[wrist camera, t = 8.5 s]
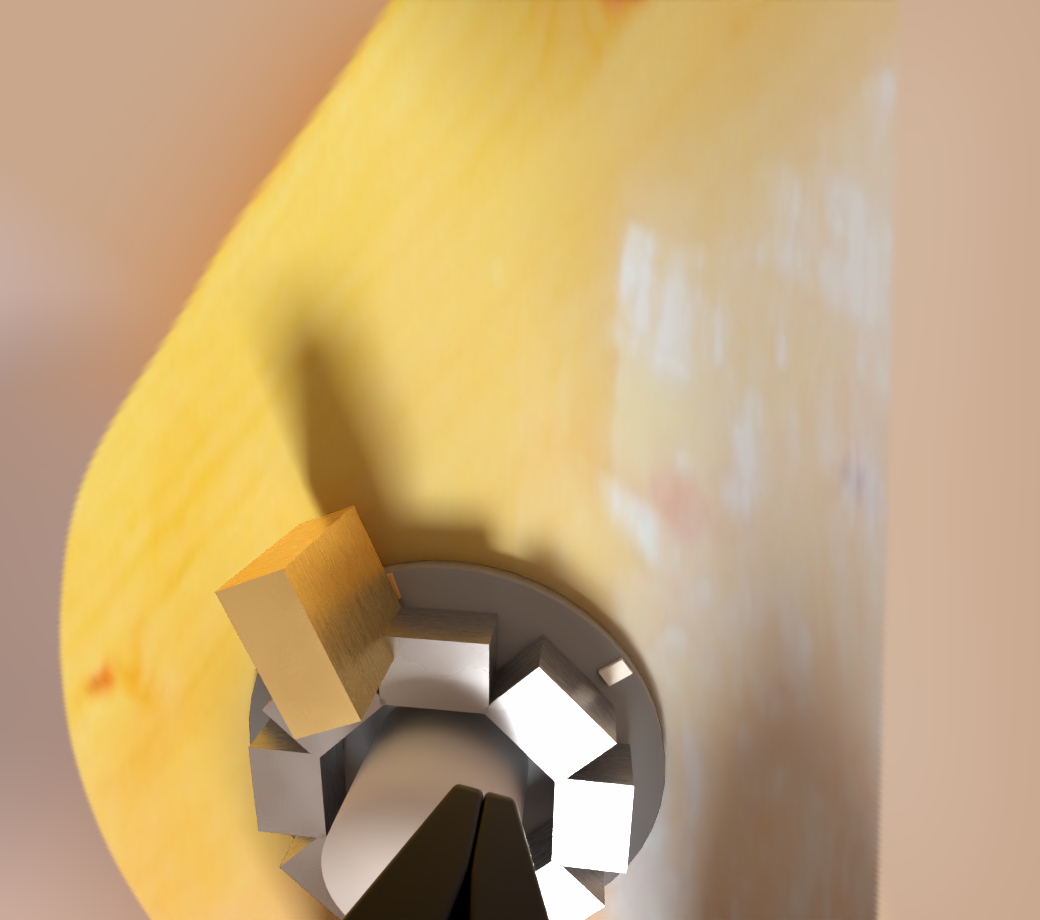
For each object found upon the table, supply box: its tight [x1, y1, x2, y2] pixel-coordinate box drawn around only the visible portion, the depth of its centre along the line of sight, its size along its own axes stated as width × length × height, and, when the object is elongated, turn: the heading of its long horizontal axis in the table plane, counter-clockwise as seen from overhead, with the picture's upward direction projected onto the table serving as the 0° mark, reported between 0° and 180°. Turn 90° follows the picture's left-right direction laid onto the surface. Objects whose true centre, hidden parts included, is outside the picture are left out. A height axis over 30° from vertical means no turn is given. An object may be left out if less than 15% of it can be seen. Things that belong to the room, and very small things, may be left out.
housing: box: [249, 561, 665, 915], centre depth 20 cm, size 15×15×5 cm
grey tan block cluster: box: [215, 505, 634, 920], centre depth 19 cm, size 16×13×5 cm
